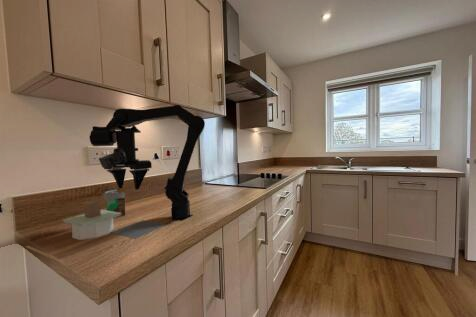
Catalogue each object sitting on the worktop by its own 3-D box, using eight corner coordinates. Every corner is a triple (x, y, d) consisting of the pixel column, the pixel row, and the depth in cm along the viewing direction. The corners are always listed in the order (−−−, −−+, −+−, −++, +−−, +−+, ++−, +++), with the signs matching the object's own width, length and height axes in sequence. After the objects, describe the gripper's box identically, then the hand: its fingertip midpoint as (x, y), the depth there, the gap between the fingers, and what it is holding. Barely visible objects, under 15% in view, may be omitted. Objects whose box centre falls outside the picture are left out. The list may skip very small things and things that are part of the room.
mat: (143, 221, 73) (143, 220, 73) (167, 225, 68) (167, 224, 68) (110, 233, 63) (110, 232, 63) (135, 240, 57) (135, 238, 57)
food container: (101, 215, 84) (100, 191, 83) (118, 211, 88) (116, 189, 88) (108, 221, 75) (106, 195, 75) (126, 217, 79) (125, 192, 79)
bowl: (101, 226, 70) (100, 212, 70) (119, 230, 65) (118, 215, 65) (67, 237, 61) (66, 221, 61) (85, 243, 57) (84, 225, 56)
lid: (101, 211, 70) (100, 197, 70) (121, 215, 65) (120, 199, 65) (63, 222, 61) (62, 205, 60) (82, 226, 56) (81, 208, 55)
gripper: (86, 146, 68) (89, 191, 69) (120, 143, 60) (123, 195, 60) (118, 146, 78) (120, 186, 79) (151, 144, 70) (153, 188, 70)
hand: (128, 188), depth 72 cm, fingers open, 9 cm apart
